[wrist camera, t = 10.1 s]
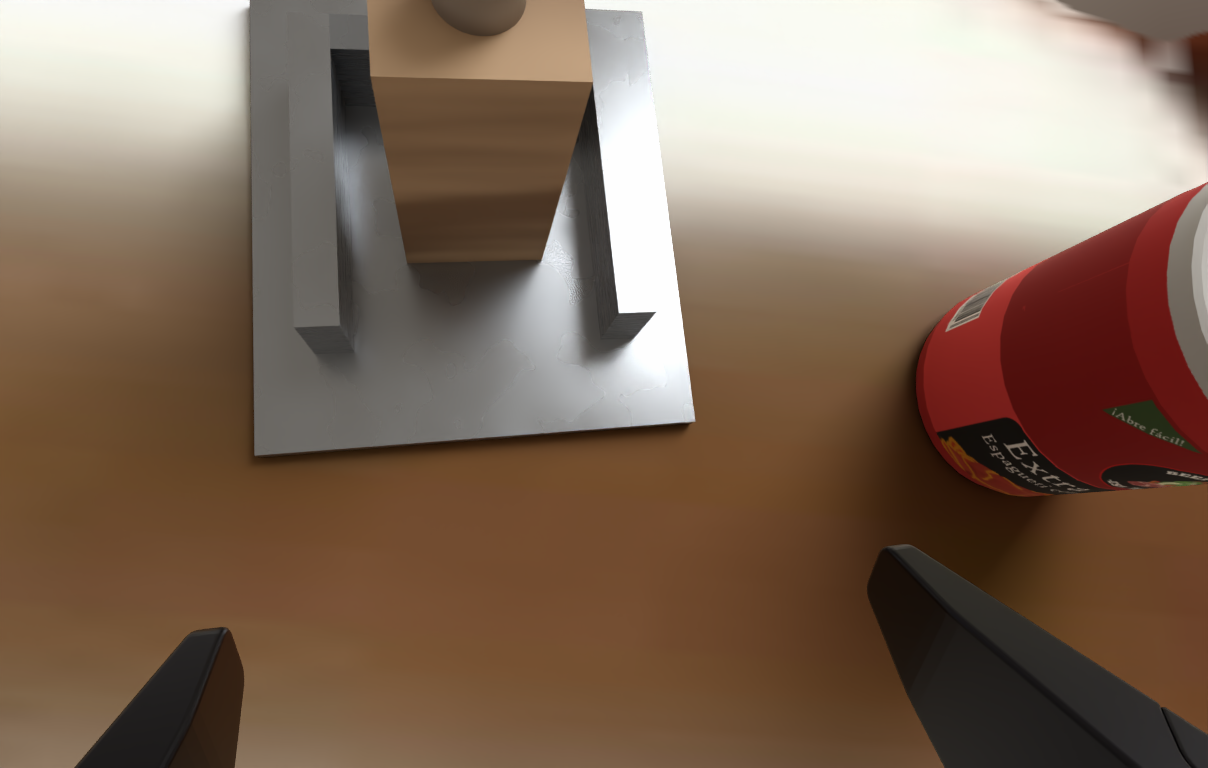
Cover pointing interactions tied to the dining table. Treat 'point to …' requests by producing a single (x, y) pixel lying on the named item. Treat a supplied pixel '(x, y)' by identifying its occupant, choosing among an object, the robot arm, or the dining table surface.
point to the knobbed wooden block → (478, 120)
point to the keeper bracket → (449, 265)
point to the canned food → (1081, 365)
